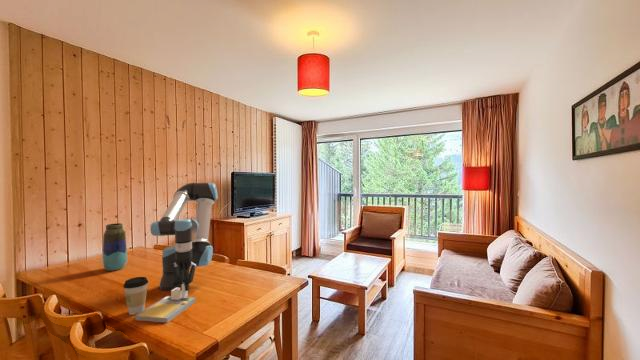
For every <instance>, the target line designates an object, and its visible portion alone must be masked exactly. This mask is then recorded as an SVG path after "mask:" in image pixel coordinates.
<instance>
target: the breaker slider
mask: <svg viewBox="0 0 640 360" xmlns="http://www.w3.org/2000/svg"><path fill="white" fill-rule="evenodd" d="M170 296H171V300H179V299H181V298H182V291H181V290H180V288H179V287H176V288H175V289H173V290H171V291H170Z"/></svg>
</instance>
